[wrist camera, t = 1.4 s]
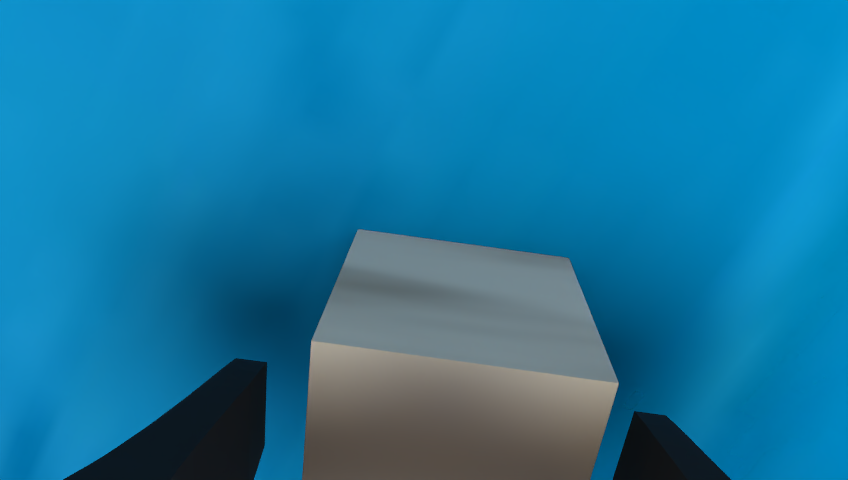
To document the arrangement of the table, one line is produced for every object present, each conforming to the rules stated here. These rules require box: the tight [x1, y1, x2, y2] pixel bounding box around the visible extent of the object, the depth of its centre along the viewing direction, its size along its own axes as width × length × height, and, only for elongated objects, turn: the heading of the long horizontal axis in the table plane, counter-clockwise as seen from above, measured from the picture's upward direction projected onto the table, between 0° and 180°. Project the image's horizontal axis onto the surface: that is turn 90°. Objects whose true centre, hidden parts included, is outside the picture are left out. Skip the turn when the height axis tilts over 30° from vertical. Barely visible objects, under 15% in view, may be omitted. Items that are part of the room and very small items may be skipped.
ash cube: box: [302, 229, 619, 480], centre depth 13 cm, size 5×5×5 cm
